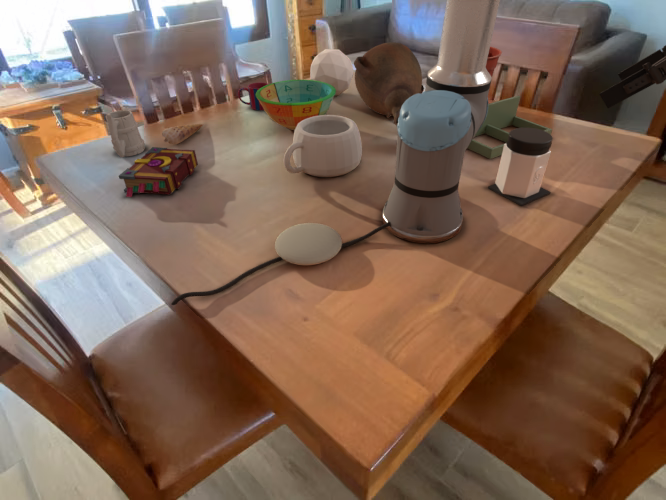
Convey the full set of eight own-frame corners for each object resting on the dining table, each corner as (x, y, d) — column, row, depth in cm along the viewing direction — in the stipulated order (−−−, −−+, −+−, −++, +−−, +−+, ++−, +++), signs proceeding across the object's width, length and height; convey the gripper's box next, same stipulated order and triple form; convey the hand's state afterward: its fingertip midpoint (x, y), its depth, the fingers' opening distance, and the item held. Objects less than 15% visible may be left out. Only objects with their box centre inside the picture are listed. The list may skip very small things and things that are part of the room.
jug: (356, 101, 140) (374, 154, 120) (345, 41, 126) (364, 90, 105) (417, 85, 139) (446, 135, 119) (413, 23, 124) (445, 68, 104)
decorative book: (199, 166, 105) (195, 147, 102) (169, 199, 93) (163, 179, 90) (157, 163, 107) (151, 145, 104) (121, 196, 94) (114, 176, 91)
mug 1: (149, 143, 117) (135, 99, 109) (137, 163, 107) (122, 116, 100) (120, 145, 116) (105, 101, 109) (106, 165, 107) (88, 118, 100)
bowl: (351, 128, 122) (351, 92, 116) (283, 148, 112) (279, 110, 106) (310, 107, 137) (308, 74, 131) (247, 123, 127) (242, 88, 121)
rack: (490, 159, 104) (496, 127, 100) (453, 141, 113) (458, 111, 108) (549, 138, 113) (558, 108, 108) (511, 123, 122) (518, 95, 117)
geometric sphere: (323, 111, 148) (295, 78, 139) (334, 83, 155) (308, 50, 146) (356, 96, 139) (328, 59, 130) (366, 67, 146) (339, 30, 137)
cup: (270, 110, 135) (267, 88, 131) (239, 111, 135) (235, 89, 131) (272, 103, 141) (270, 81, 137) (242, 104, 141) (238, 82, 137)
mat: (521, 206, 87) (522, 204, 87) (487, 188, 93) (488, 186, 93) (550, 194, 91) (550, 191, 90) (515, 177, 97) (516, 175, 97)
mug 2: (328, 144, 114) (327, 107, 107) (376, 163, 104) (377, 123, 98) (264, 171, 102) (258, 131, 96) (311, 196, 92) (308, 153, 86)
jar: (518, 202, 87) (533, 147, 80) (487, 186, 93) (499, 133, 86) (546, 190, 91) (563, 136, 84) (515, 175, 96) (528, 123, 89)
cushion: (278, 231, 82) (277, 218, 80) (341, 229, 82) (340, 216, 80) (272, 272, 73) (270, 258, 71) (343, 270, 73) (343, 256, 71)
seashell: (159, 149, 114) (154, 131, 110) (199, 125, 127) (195, 108, 124) (173, 152, 112) (168, 133, 109) (212, 126, 126) (208, 109, 123)
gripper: (803, 35, 48) (607, 131, 65) (795, 5, 64) (638, 89, 80) (771, -23, 48) (582, 89, 65) (771, -39, 63) (618, 55, 80)
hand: (613, 89), depth 72 cm, fingers open, 13 cm apart
